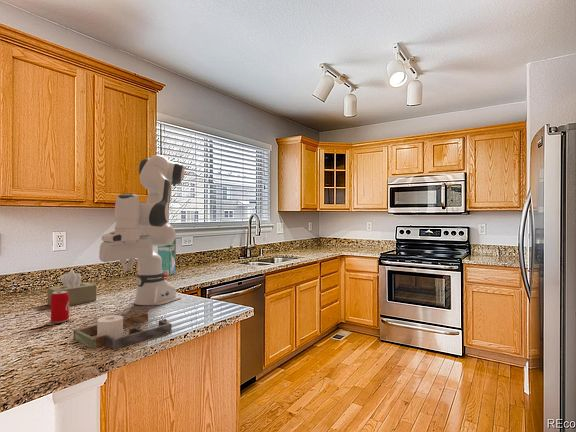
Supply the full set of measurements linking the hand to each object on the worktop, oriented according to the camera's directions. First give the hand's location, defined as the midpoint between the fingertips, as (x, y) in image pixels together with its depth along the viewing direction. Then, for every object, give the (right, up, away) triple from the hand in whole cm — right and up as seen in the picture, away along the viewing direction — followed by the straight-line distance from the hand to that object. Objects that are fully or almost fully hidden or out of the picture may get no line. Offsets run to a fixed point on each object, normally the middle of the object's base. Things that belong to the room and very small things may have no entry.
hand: (127, 270), depth 137 cm
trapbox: (+4, -22, -8) cm, 24 cm away
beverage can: (-30, -22, +5) cm, 37 cm away
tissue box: (-43, -21, +34) cm, 59 cm away
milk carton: (-24, -20, +114) cm, 119 cm away
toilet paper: (-1, -23, -10) cm, 24 cm away
